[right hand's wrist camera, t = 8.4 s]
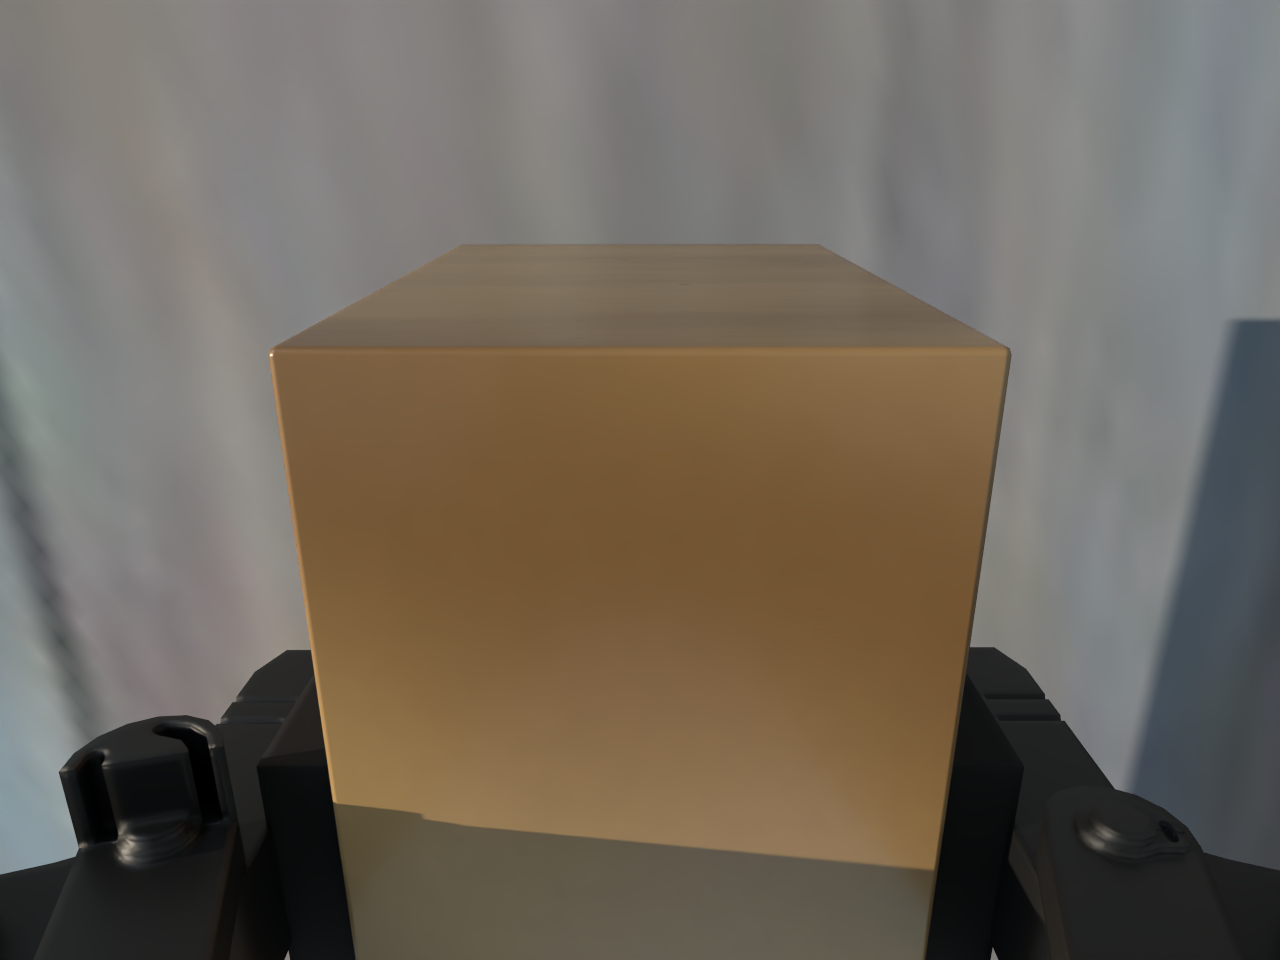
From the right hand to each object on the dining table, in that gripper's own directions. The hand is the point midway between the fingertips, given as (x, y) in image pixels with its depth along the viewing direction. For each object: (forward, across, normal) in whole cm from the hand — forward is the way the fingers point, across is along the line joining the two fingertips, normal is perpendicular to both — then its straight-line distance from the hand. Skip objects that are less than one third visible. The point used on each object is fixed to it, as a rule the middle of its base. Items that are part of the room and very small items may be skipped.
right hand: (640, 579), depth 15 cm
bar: (+1, 0, -35) cm, 35 cm away
